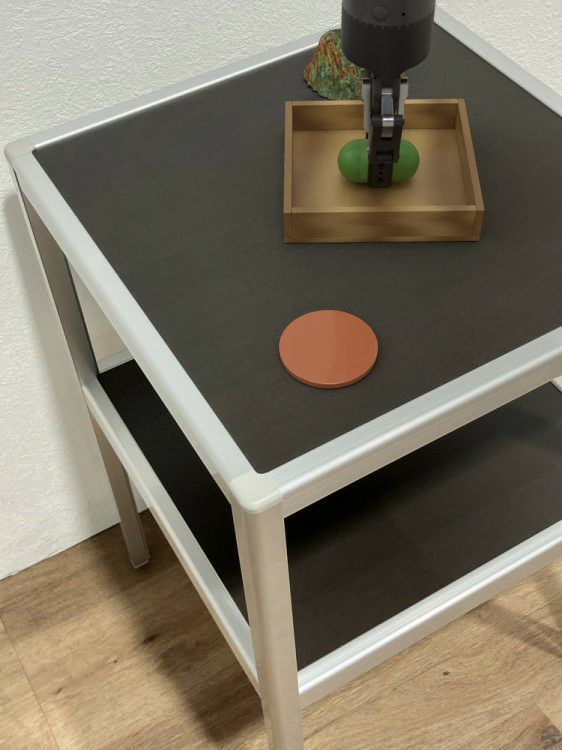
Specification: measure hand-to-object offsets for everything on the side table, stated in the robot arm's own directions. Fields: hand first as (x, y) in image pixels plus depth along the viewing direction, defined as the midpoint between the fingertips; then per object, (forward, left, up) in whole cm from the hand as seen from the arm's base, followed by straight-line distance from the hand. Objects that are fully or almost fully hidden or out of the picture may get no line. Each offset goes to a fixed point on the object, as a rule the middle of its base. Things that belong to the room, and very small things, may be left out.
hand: (377, 168), depth 90 cm
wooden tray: (0, 0, -2) cm, 2 cm away
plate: (+5, +21, -2) cm, 22 cm away
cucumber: (0, 0, -1) cm, 1 cm away
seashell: (+2, -18, -2) cm, 18 cm away
